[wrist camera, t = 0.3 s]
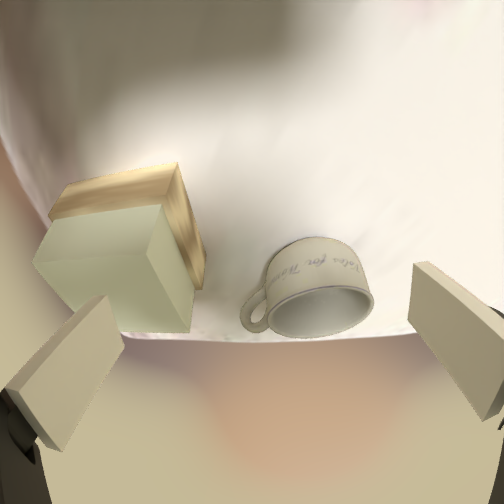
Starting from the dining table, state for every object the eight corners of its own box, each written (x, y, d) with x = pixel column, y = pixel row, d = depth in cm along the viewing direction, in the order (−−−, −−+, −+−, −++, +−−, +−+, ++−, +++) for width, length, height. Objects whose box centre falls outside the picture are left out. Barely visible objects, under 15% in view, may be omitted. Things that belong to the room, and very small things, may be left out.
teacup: (358, 214, 28) (380, 278, 23) (356, 277, 36) (369, 333, 31) (223, 237, 31) (219, 304, 26) (249, 294, 39) (250, 351, 33)
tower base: (69, 181, 25) (47, 215, 22) (178, 159, 24) (165, 194, 21) (113, 259, 34) (102, 293, 31) (206, 252, 33) (202, 289, 30)
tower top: (54, 219, 22) (31, 262, 19) (161, 203, 22) (146, 254, 18) (103, 291, 30) (92, 330, 27) (194, 288, 30) (189, 332, 26)
